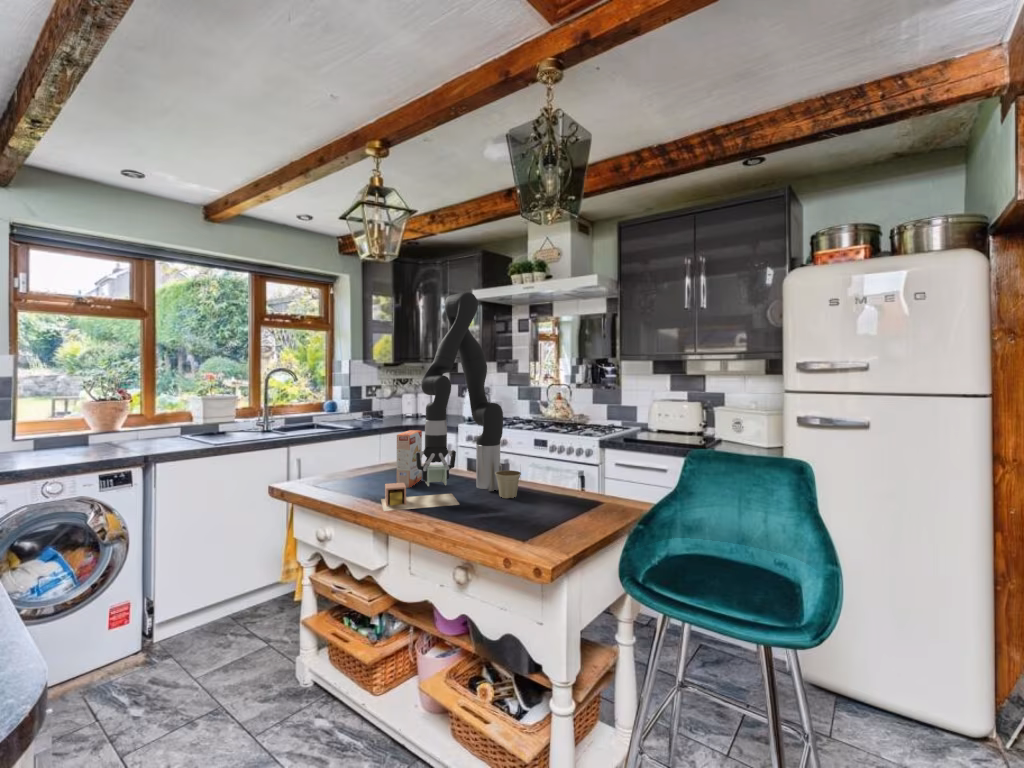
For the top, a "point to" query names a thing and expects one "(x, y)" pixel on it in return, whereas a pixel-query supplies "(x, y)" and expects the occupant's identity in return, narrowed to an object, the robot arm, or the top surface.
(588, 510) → the top surface
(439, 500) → the board
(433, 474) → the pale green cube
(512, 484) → the flower pot
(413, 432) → the cracker box
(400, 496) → the letter cube
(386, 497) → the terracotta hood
